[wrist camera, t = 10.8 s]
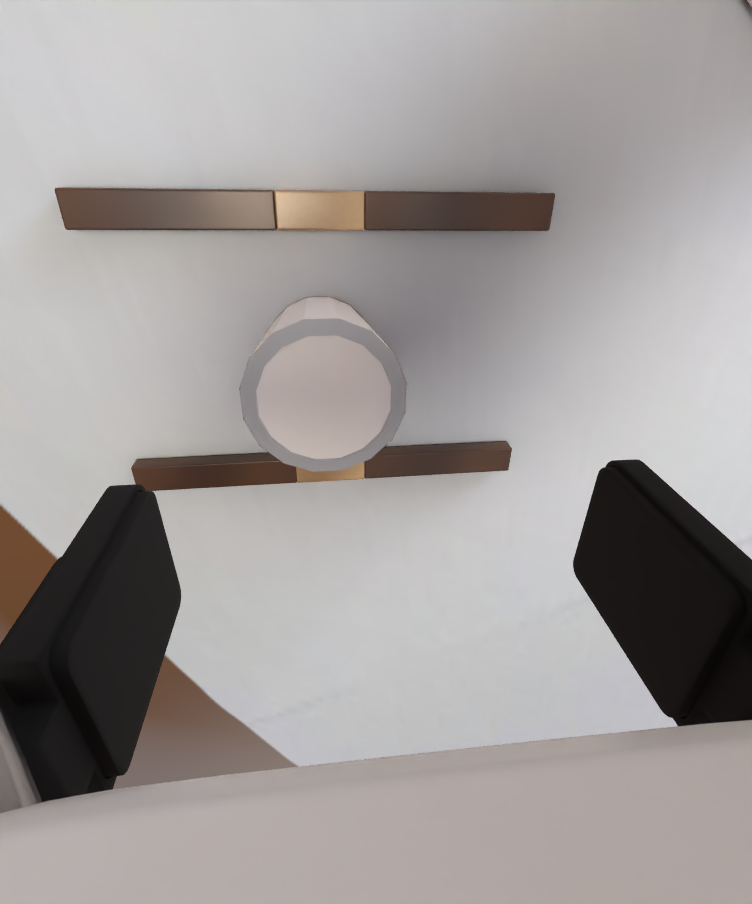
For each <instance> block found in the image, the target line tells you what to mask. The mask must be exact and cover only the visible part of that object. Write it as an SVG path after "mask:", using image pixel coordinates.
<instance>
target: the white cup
mask: <svg viewBox="0 0 752 904" xmlns="http://www.w3.org/2000/svg"><path fill="white" fill-rule="evenodd" d="M239 390H240V397H241V405H242V412H243V419H244V421H245V423H246V424H247V426H248V427H249V429H250V431H251V432H252V434H253V436H254V437H255V439H256V441H257V442H258V444H259V445H260V446H261V447H262V448H264V449H265V450H267V451H268V452H269V453H271V454H272V455H273V456H275V457H276V458H277V459H279V460H280V461H281V462H283V463H285V464H288V465H292V466H295V467H298V468H302V469H305V470H309V471H312V472H317V471H336V470H345V469H347V468H350V467H352V466H354V465H357V464H359V463H362V462H364V461H367V460H369V459H371V458H372V457H373V456H374V455H375V454H376V453H378V452H379V451H380V450H381V449H382V448H383V447H384V446H385V445H386V444H387V443H388V442H390V441H391V440H392V439H393V437H394V435H395V433H396V430H397V428H398V426H399V424H400V422H401V420H402V418H403V416H404V414H405V405H406V381H405V378H404V375H403V373H402V370H401V368H400V365H399V363H398V360H397V358H396V355H395V354H394V352H393V351H392V350H391V349H390V348H389V347H388V346H387V345H386V343H385V342H384V341H383V340H382V339H381V338H380V337H379V336H378V335H377V333H376V332H375V331H374V330H373V329H372V328H371V327H370V326H369V325H368V323H367V322H366V321H365V320H364V319H363V318H362V317H361V316H360V315H359V314H358V313H357V312H356V311H355V310H354V309H353V308H352V307H351V306H350V305H348V304H345V303H343V302H340V301H338V300H335V299H333V298H331V297H307V298H305V299H303V300H301V301H298V302H296V303H294V304H292V305H289V306H288V307H287V308H286V309H285V310H284V311H283V312H282V313H281V314H280V315H279V317H278V318H277V319H276V320H275V321H274V322H273V324H272V325H271V327H270V328H269V330H268V331H267V332H266V334H265V335H264V337H263V338H262V340H261V341H260V343H259V344H258V346H257V347H256V349H255V350H254V352H253V353H252V355H251V356H250V357H249V360H248V363H247V366H246V369H245V372H244V376H243V379H242V382H241V385H240V388H239Z"/></svg>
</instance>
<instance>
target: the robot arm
mask: <svg viewBox="0 0 752 904" xmlns="http://www.w3.org/2000/svg"><path fill="white" fill-rule="evenodd" d="M747 1H748V3H749V5H750V6H751V7H752V0H747ZM573 567H574V572H575V575H576V577H577V579H578V580H579V582H580V583H581V585H582V587H583V588H584V590H585V591H586V593H587V594H588V596H589V597H590V599H591V601H592V602H593V604H594V605H595V607H596V608H597V610H598V612H599V613H600V615H601V616H602V618H603V619H604V621H605V623H606V624H607V626H608V627H609V629H610V630H611V632H612V634H613V635H614V637H615V638H616V640H617V641H618V643H619V645H620V646H621V648H622V649H623V651H624V652H625V654H626V656H627V657H628V659H629V660H630V662H631V663H632V665H633V666H634V668H635V670H636V671H637V673H638V674H639V676H640V677H641V679H642V681H643V682H644V684H645V685H646V687H647V688H648V690H649V692H650V693H651V695H652V696H653V698H654V699H655V701H656V703H657V704H658V706H659V707H660V709H661V710H662V711H663V713H664V714H666V715H667V716H668V717H671V718H673V719H674V720H675V722H676V724H677V725H678V727H668V728H658V729H648V730H639V731H629V732H619V733H609V734H599V735H589V736H579V737H569V738H560V739H550V740H541V741H531V742H522V743H512V744H503V745H493V746H484V747H475V748H465V749H456V750H447V751H437V752H428V753H419V754H409V755H400V756H391V757H382V758H373V759H364V760H355V761H346V762H337V763H328V764H319V765H310V766H301V767H292V768H283V769H275V770H266V771H257V772H249V773H239V774H230V775H222V776H214V777H205V778H198V779H190V780H183V781H175V782H167V783H160V784H152V785H144V786H136V787H128V788H121V789H113V786H114V783H115V780H116V777H117V776H120V775H124V774H125V773H126V772H127V770H128V768H129V766H130V763H131V760H132V756H133V753H134V750H135V747H136V744H137V741H138V738H139V734H140V731H141V728H142V724H143V722H144V718H145V715H146V712H147V709H148V706H149V702H150V699H151V696H152V693H153V690H154V687H155V683H156V680H157V677H158V673H159V671H160V667H161V664H162V661H163V658H164V655H165V652H166V648H167V645H168V642H169V639H170V636H171V632H172V629H173V626H174V623H175V620H176V617H177V613H178V610H179V607H180V602H181V589H180V585H179V581H178V577H177V573H176V570H175V566H174V562H173V559H172V555H171V551H170V548H169V544H168V540H167V537H166V533H165V529H164V525H163V522H162V518H161V514H160V511H159V507H158V503H157V500H156V496H155V494H154V493H153V492H152V491H146V490H145V488H144V487H143V486H142V485H140V484H138V485H118V486H110V487H108V488H107V489H106V491H105V492H104V494H103V495H102V497H101V498H100V500H99V501H98V503H97V504H96V506H95V507H94V509H93V510H92V512H91V514H90V515H89V517H88V518H87V520H86V521H85V523H84V524H83V526H82V527H81V529H80V530H79V532H78V533H77V535H76V536H75V538H74V539H73V541H72V542H71V544H70V545H69V547H68V548H67V550H66V551H65V553H64V555H63V556H62V557H60V558H59V559H58V560H57V561H56V563H54V565H53V566H52V568H51V569H50V571H49V572H48V574H47V575H46V577H45V578H44V580H43V581H42V583H41V584H40V586H39V587H38V589H37V590H36V592H35V593H34V595H33V596H32V598H31V599H30V601H29V602H28V604H27V605H26V607H25V608H24V610H23V611H22V613H21V614H20V616H19V617H18V619H17V620H16V622H15V623H14V625H13V626H12V628H11V629H10V631H9V632H8V634H7V635H6V637H5V638H4V640H3V641H2V643H1V645H0V904H752V560H751V559H750V558H749V557H748V556H747V555H746V554H745V553H744V552H743V551H741V550H740V549H739V548H738V547H737V546H736V545H735V544H734V543H732V542H731V541H730V540H729V539H728V538H727V537H726V536H725V535H724V534H722V533H721V532H720V531H719V530H718V529H717V528H716V527H715V526H714V525H712V524H711V523H710V522H709V521H708V520H707V519H706V518H705V517H703V516H702V515H701V514H700V513H699V512H698V511H697V510H696V509H695V508H693V507H692V506H691V505H690V504H689V503H688V502H687V501H686V500H685V499H683V498H682V497H681V496H680V495H679V494H678V493H677V492H676V491H674V490H673V489H672V488H671V487H670V486H669V485H668V484H667V483H666V482H664V481H663V480H662V479H661V478H660V477H659V476H658V475H657V474H656V473H654V472H653V471H652V470H651V469H650V468H649V467H648V466H647V465H645V464H644V463H643V462H642V461H640V460H616V461H610V462H609V463H608V464H607V465H606V467H605V468H602V469H601V470H600V471H599V473H598V476H597V480H596V483H595V487H594V490H593V494H592V497H591V501H590V504H589V508H588V511H587V515H586V518H585V522H584V525H583V529H582V532H581V536H580V539H579V543H578V546H577V550H576V553H575V557H574V561H573ZM112 789H113V790H112Z"/></svg>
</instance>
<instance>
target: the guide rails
mask: <svg viewBox="0 0 752 904" xmlns="http://www.w3.org/2000/svg"><path fill="white" fill-rule="evenodd" d="M55 193H56V196H57V200H58V204H59V207H60V211H61V215H62V218H63V222H64V225H65V228H66V229H67V230H276V229H277V230H364V229H365V230H401V231H548V230H549V228H550V222H551V216H552V210H553V204H554V198H555V194H554V193H505V192H415V191H325V190H275V191H274V190H237V189H147V188H55ZM511 451H512V448H511V447H510V445H509V444H508V443H507V442H506V441H501V442H481V443H461V444H441V445H421V446H401V447H383V448H382V449H381V450H380V451H379V452H378V453H376V454H375V455H374V456H373V457H372V458H371V459H369V460H367V461H364V462H362V463H359V464H357V465H354V466H352V467H350V468H347V469H345V470H336V471H317V472H312V471H309V470H305V469H302V468H298V467H295V466H292V465H288V464H285V463H283V462H281V461H280V460H279V459H277V458H276V457H275V456H273V455H272V454H271V453H259V454H239V455H219V456H199V457H179V458H159V459H139V460H136V461H135V463H134V465H133V466H132V468H131V469H132V473H133V476H134V480H135V483H136V485H138V484H140V485H142V486H143V487H144V488H145V490H146V491H157V490H175V489H192V488H210V487H227V486H244V485H262V484H279V483H296V482H298V483H299V482H317V481H334V480H352V479H364V477H365V478H382V477H400V476H417V475H435V474H452V473H470V472H487V471H505V470H508V468H509V462H510V456H511Z"/></svg>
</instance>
